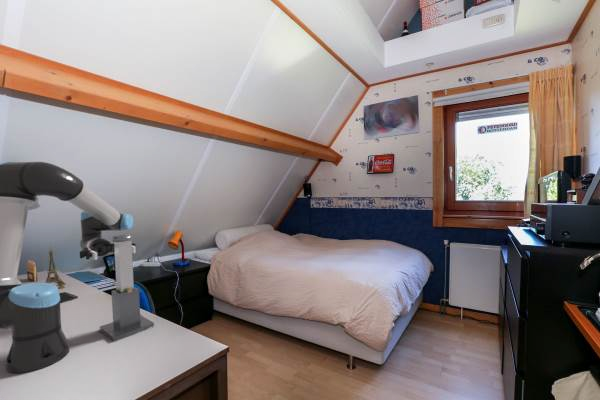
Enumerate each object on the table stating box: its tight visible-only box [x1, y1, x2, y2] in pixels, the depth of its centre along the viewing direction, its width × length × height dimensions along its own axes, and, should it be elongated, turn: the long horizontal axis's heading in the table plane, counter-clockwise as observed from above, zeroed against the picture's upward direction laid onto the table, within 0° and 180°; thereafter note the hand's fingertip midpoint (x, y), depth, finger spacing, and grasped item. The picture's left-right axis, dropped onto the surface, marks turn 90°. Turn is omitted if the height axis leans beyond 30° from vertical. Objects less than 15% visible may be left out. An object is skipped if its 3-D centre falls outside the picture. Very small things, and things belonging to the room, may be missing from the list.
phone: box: [59, 291, 78, 304], centre depth 149 cm, size 8×1×15 cm
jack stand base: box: [99, 286, 155, 342], centre depth 114 cm, size 14×14×16 cm
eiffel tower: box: [44, 243, 67, 290], centre depth 165 cm, size 11×11×25 cm
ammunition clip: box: [26, 259, 38, 283], centre depth 181 cm, size 11×2×12 cm, turn 57°
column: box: [112, 234, 135, 293], centre depth 113 cm, size 6×6×28 cm
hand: (116, 252), depth 118 cm, fingers open, 13 cm apart
